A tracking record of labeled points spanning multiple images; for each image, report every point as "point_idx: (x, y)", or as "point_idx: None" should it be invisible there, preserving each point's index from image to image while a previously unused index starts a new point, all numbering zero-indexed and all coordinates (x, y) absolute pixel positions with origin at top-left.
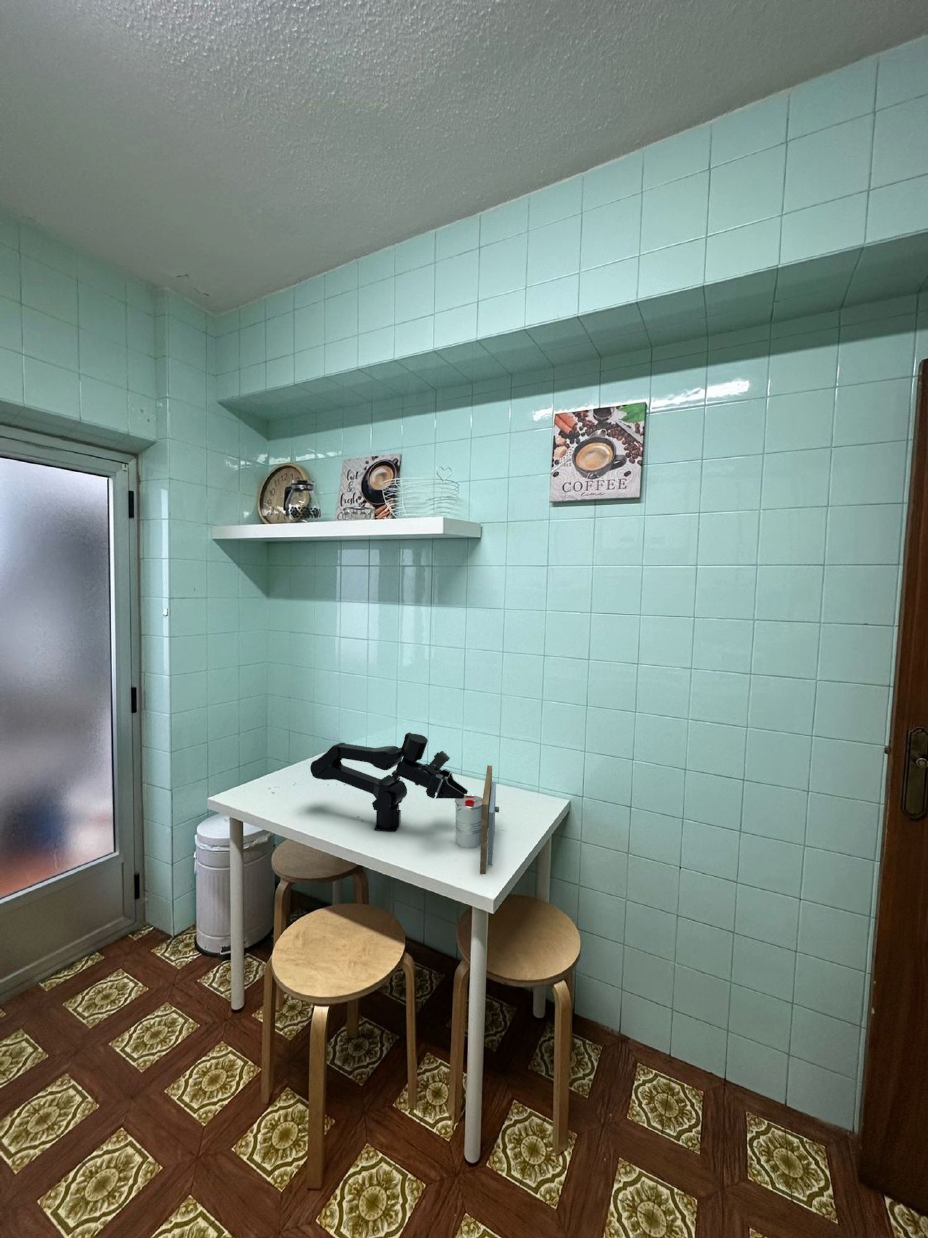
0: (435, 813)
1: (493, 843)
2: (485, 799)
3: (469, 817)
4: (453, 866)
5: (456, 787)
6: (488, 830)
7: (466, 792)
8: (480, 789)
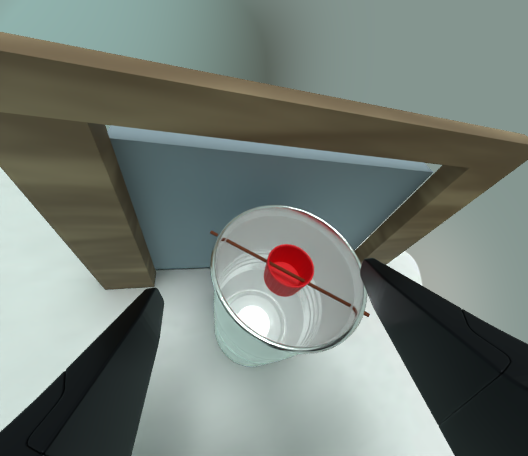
0: None
1: None
2: (502, 134)
3: (329, 276)
4: (380, 338)
5: (116, 393)
6: (390, 213)
7: (160, 299)
8: None
